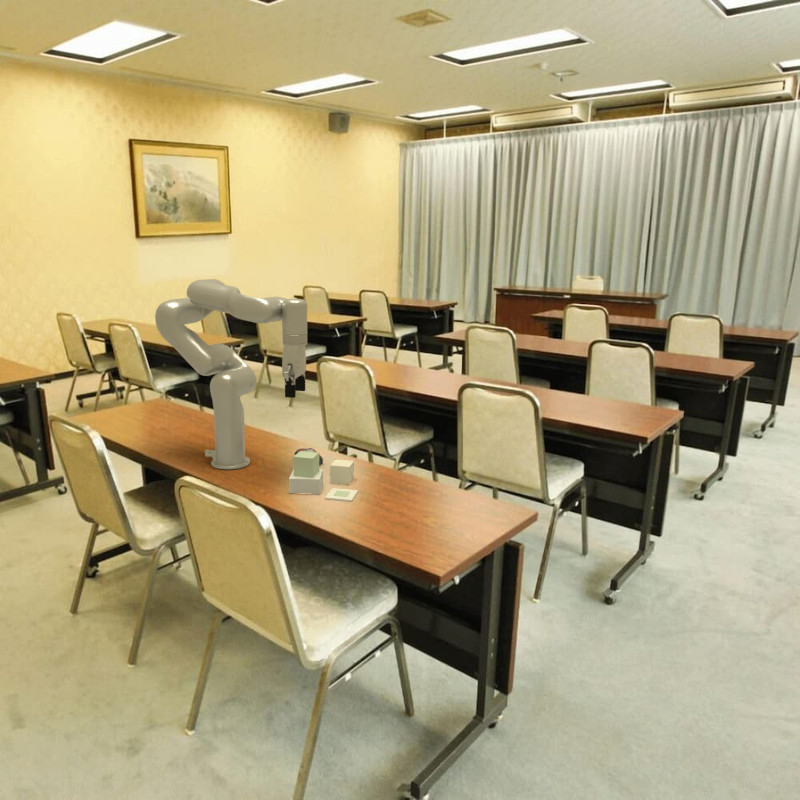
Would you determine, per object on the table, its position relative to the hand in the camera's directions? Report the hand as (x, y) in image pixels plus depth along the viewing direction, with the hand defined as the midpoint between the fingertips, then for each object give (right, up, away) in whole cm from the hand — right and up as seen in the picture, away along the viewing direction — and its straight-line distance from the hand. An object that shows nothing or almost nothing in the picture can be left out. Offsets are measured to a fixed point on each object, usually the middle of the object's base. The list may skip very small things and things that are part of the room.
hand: (295, 393), depth 205 cm
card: (+16, -30, -11) cm, 36 cm away
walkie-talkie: (+2, -24, +16) cm, 29 cm away
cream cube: (+15, -27, +1) cm, 31 cm away
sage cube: (+5, -24, -7) cm, 26 cm away
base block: (+4, -29, -7) cm, 30 cm away
